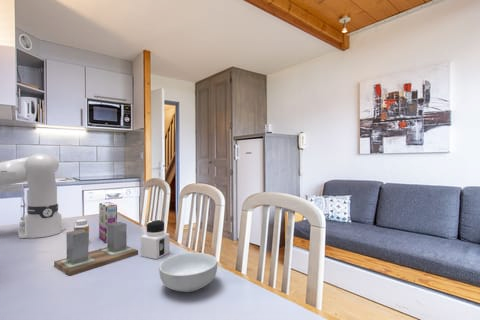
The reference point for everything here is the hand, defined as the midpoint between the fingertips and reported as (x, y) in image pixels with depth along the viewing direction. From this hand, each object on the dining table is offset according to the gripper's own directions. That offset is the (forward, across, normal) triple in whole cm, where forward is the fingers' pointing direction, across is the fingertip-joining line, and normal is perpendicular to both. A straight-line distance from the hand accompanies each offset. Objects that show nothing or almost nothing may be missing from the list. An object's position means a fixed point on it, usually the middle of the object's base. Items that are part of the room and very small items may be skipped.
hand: (11, 173), depth 90 cm
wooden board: (+21, +16, -32) cm, 41 cm away
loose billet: (+14, +16, -30) cm, 37 cm away
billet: (+28, +16, -30) cm, 44 cm away
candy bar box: (+36, -5, -32) cm, 48 cm away
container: (+37, +28, -32) cm, 56 cm away
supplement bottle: (+26, -8, -32) cm, 42 cm away
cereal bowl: (+28, +57, -32) cm, 71 cm away
